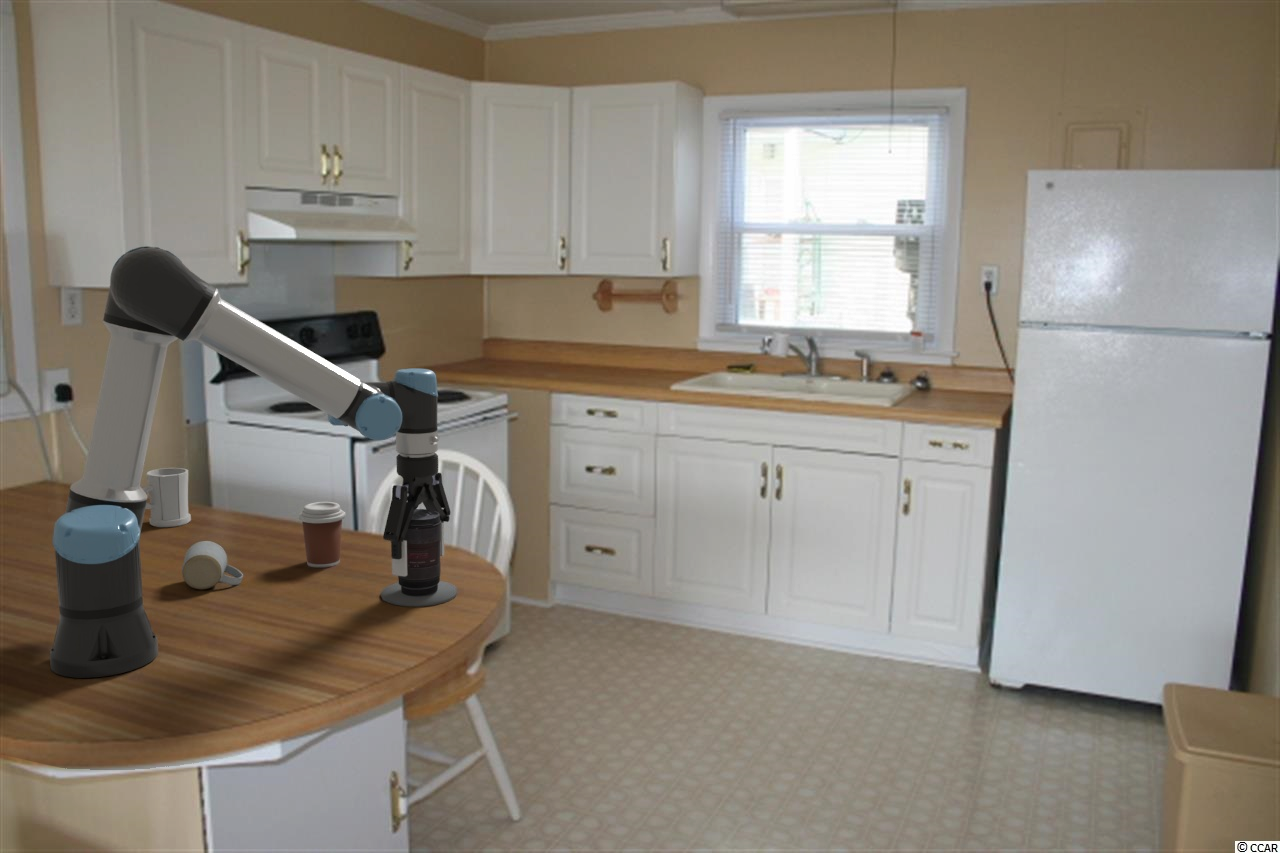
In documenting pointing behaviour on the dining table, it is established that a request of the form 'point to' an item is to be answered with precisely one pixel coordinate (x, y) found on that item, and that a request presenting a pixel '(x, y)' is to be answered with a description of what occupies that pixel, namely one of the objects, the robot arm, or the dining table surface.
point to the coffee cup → (322, 533)
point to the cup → (168, 497)
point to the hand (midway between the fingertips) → (418, 565)
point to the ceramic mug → (208, 566)
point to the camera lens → (422, 554)
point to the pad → (396, 596)
